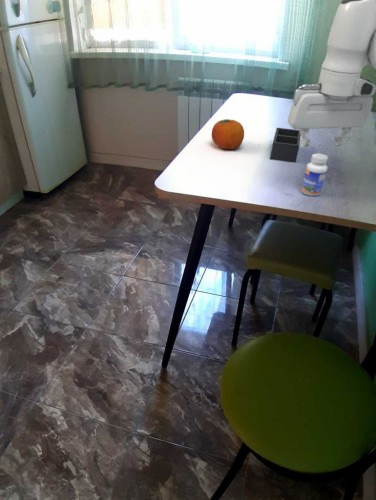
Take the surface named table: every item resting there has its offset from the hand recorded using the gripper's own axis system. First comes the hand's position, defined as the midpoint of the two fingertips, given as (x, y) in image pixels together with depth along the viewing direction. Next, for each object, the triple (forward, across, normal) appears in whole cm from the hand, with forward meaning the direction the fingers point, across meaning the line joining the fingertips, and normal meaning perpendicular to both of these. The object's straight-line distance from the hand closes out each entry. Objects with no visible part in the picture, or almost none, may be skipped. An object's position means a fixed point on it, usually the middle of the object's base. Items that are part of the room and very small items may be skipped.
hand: (321, 145), depth 104 cm
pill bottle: (+12, 0, 0) cm, 12 cm away
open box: (+12, +6, +29) cm, 32 cm away
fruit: (+13, -12, +37) cm, 41 cm away
